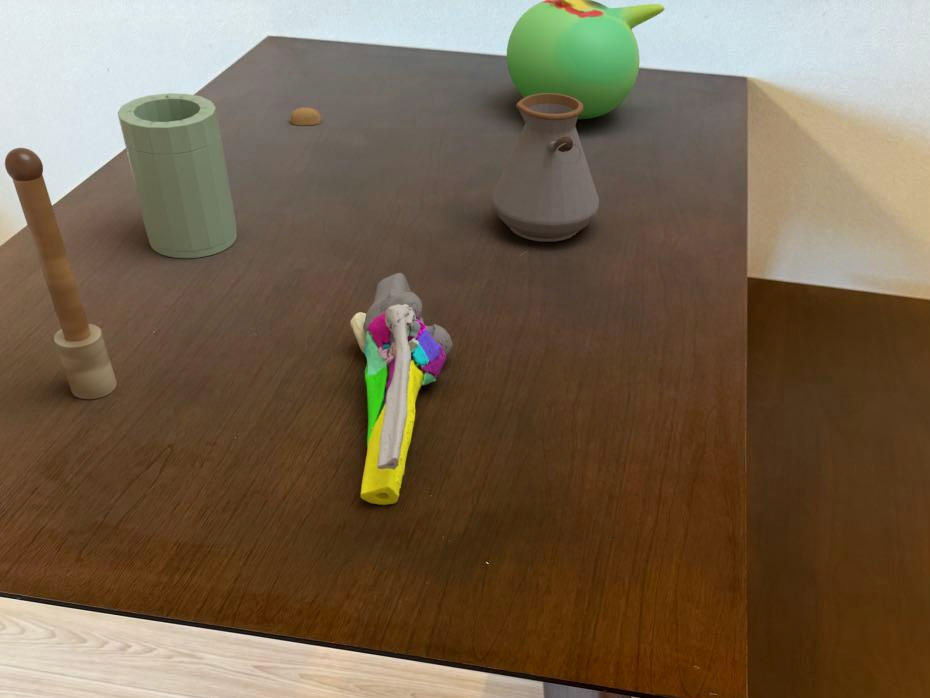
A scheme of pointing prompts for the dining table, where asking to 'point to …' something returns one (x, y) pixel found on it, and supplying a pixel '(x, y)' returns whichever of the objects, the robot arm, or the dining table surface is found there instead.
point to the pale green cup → (179, 174)
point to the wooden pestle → (61, 283)
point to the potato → (305, 116)
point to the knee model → (394, 380)
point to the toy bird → (578, 52)
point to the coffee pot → (547, 173)
